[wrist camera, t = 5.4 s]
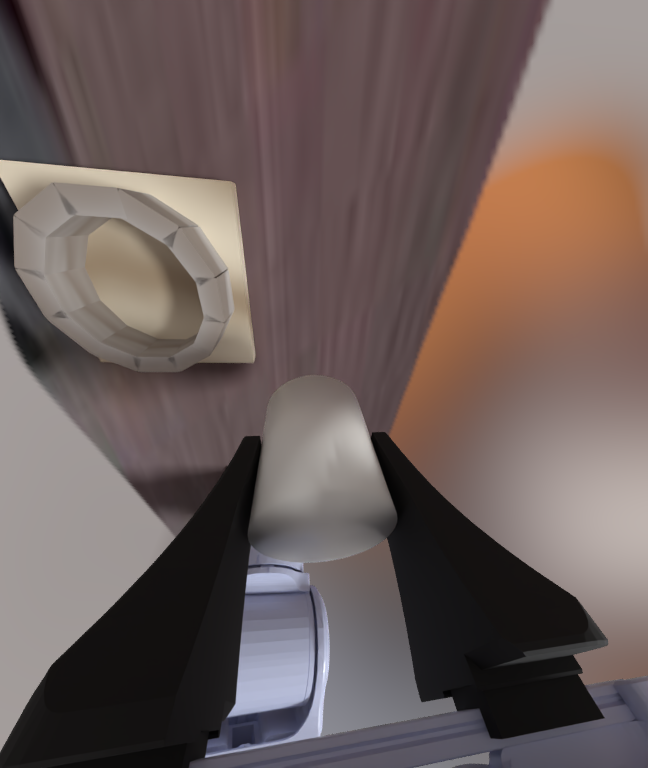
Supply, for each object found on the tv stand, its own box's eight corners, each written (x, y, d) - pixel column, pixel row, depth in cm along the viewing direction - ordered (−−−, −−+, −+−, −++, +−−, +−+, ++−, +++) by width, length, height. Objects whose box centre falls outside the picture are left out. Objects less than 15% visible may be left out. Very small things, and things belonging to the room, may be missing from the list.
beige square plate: (255, 356, 18) (247, 382, 15) (110, 355, 16) (71, 382, 14) (235, 184, 12) (217, 172, 9) (13, 163, 11) (-88, 142, 8)
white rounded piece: (351, 443, 14) (381, 556, 10) (270, 446, 14) (255, 568, 9) (365, 375, 12) (415, 485, 7) (262, 375, 11) (236, 496, 6)
